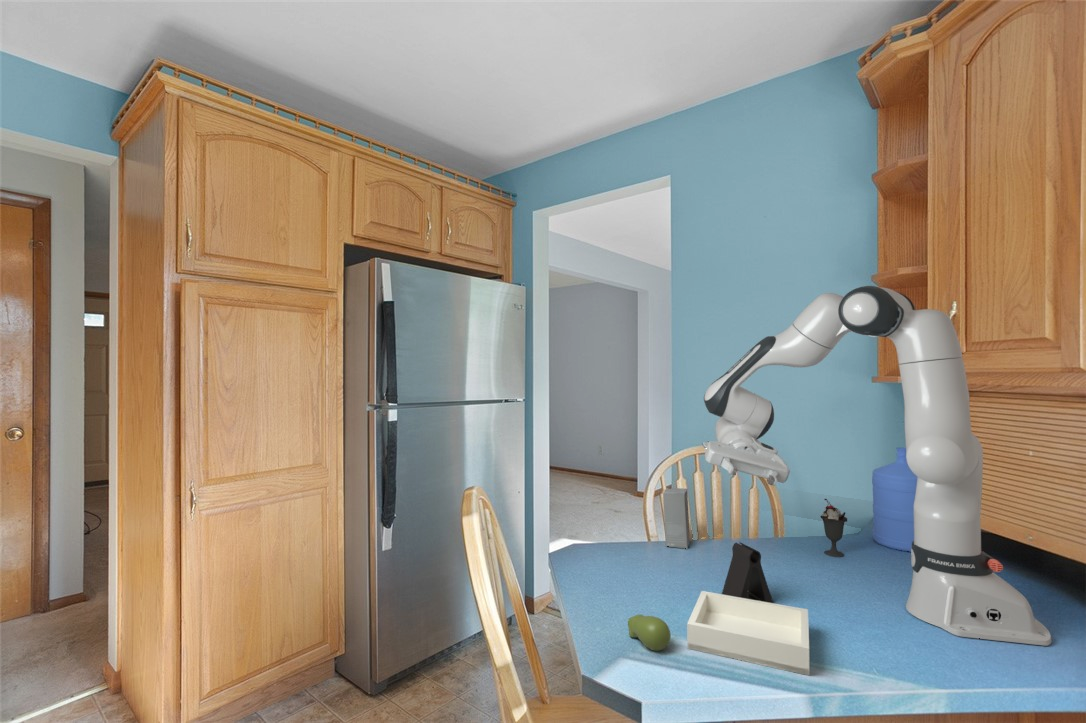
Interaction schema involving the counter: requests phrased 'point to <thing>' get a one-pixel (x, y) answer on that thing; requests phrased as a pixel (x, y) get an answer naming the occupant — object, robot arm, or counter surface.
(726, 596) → the tray
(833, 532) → the sundae
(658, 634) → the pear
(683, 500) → the skincare box
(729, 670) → the counter surface
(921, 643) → the counter surface
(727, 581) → the phone stand
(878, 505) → the water jug
